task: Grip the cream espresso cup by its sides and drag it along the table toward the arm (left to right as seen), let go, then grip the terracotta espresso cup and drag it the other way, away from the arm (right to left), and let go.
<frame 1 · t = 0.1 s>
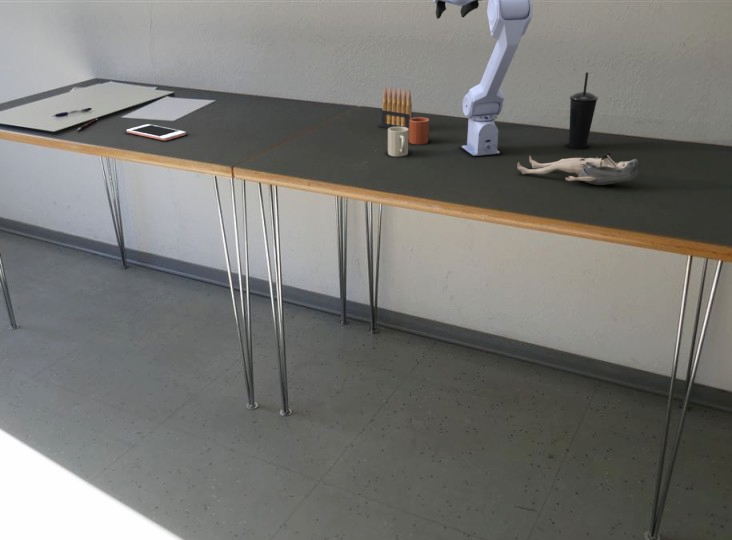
hand: (449, 14, 234), 32 cm above the table, tool tilted 50°, fingers open, 7 cm apart
cell phone: (156, 134, 250), on the table
cream cup: (397, 153, 227), on the table
anime figure: (577, 180, 204), on the table
drinking cup: (577, 147, 230), on the table
terracotta cup: (418, 141, 237), on the table
ammunition clip: (396, 129, 251), on the table
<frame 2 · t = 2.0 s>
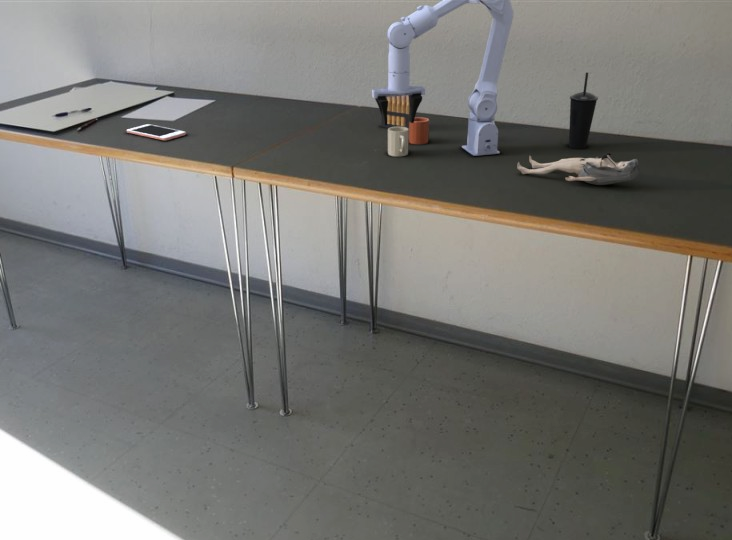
hand: (398, 123, 222), 8 cm above the table, tool pointing down, fingers open, 7 cm apart
nothing on the table moved.
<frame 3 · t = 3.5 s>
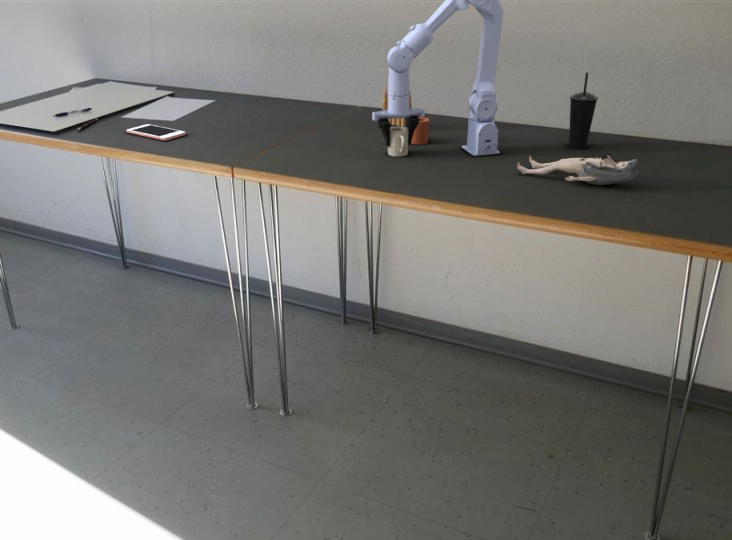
hand: (398, 144, 226), 3 cm above the table, tool pointing down, fingers closed on cream cup, 6 cm apart
cream cup: (397, 153, 227), on the table, touching gripper
everything else where it was.
when the fingers open (3 cm above the table, at t = 6.9 s): cream cup stays where it is, on the table.
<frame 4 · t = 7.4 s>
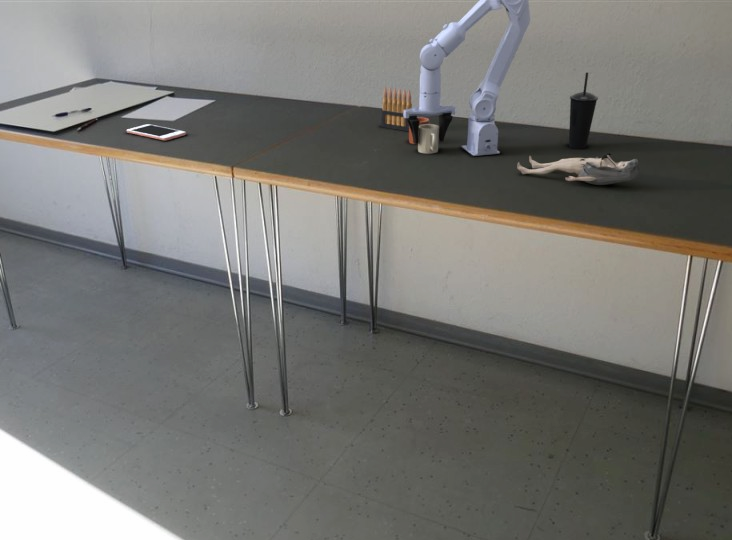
hand: (428, 142, 227), 3 cm above the table, tool pointing down, fingers open, 7 cm apart
cream cup: (428, 150, 229), on the table
everything else where it was.
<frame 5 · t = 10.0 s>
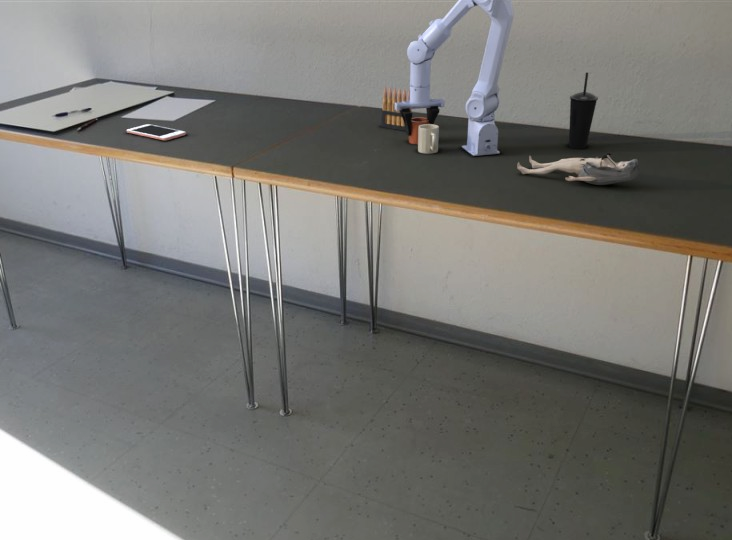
hand: (418, 133, 236), 2 cm above the table, tool pointing down, fingers closed on terracotta cup, 6 cm apart
terracotta cup: (418, 141, 237), on the table, touching gripper
everything else where it was.
when the fingers open (2 cm above the table, at t = 13.5 s): terracotta cup stays where it is, on the table.
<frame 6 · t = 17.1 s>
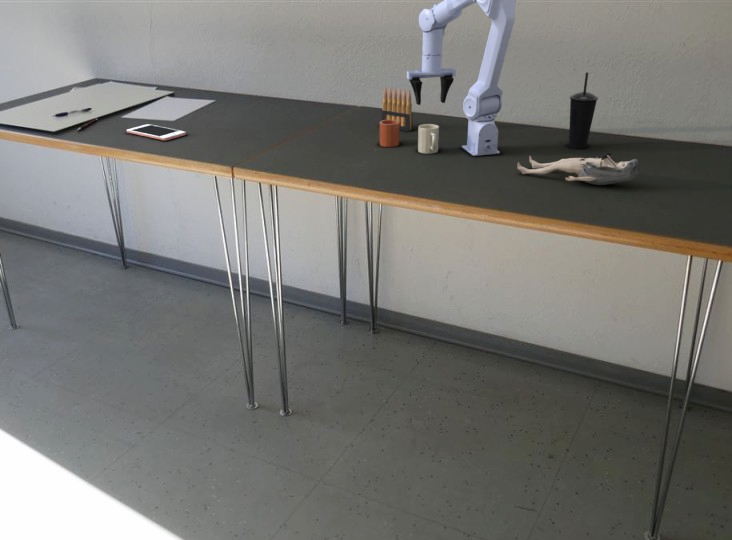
hand: (430, 103, 238), 9 cm above the table, tool pointing down, fingers open, 7 cm apart
terracotta cup: (389, 144, 235), on the table
everything else where it was.
at the end: cream cup 0.0 cm from the target spot, on the table; terracotta cup 0.0 cm from the target spot, on the table; terracotta cup tilted 0° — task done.
